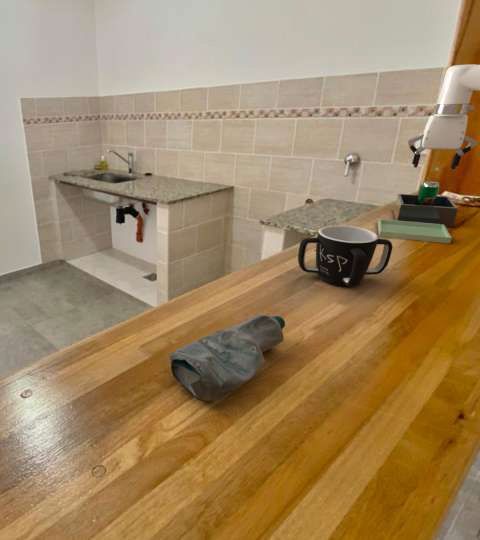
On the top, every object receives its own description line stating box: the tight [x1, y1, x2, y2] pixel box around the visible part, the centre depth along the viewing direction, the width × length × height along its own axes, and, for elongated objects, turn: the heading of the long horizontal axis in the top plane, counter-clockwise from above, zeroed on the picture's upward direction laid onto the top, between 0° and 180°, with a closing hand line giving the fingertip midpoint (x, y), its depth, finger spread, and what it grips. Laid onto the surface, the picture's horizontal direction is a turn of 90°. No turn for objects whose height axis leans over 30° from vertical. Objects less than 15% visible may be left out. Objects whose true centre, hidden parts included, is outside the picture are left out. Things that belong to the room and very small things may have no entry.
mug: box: [297, 225, 394, 288], centre depth 91 cm, size 16×16×12 cm
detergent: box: [169, 313, 286, 401], centre depth 65 cm, size 13×7×25 cm
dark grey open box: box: [393, 193, 459, 229], centre depth 129 cm, size 15×16×6 cm
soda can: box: [415, 180, 440, 206], centre depth 127 cm, size 5×5×12 cm
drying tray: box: [377, 218, 452, 244], centre depth 118 cm, size 17×13×2 cm
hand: (433, 167), depth 123 cm, fingers open, 9 cm apart
